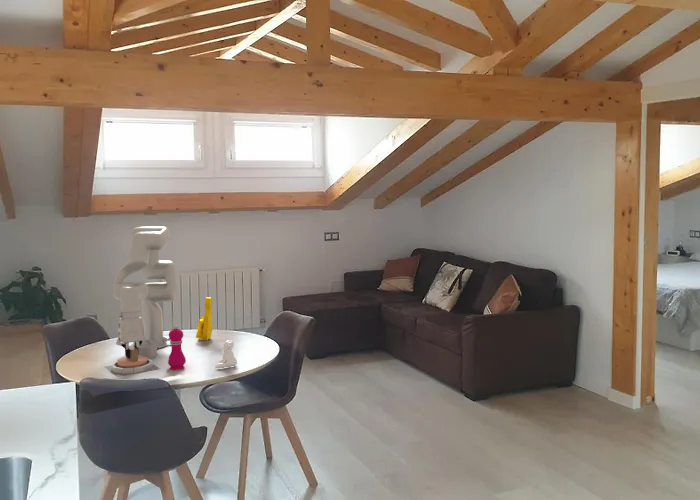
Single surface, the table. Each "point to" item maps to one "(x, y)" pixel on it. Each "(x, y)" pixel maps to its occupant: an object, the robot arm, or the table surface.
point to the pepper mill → (176, 350)
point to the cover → (132, 359)
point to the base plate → (131, 369)
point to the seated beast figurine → (227, 356)
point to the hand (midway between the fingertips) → (132, 356)
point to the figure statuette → (205, 322)
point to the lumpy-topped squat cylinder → (147, 349)
